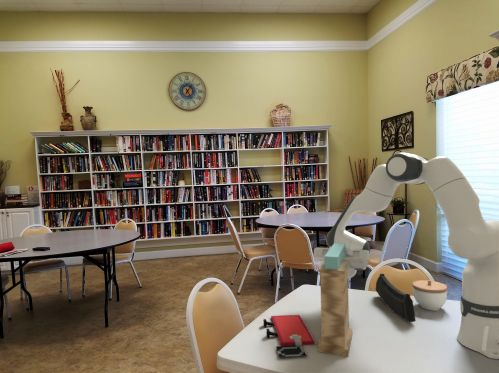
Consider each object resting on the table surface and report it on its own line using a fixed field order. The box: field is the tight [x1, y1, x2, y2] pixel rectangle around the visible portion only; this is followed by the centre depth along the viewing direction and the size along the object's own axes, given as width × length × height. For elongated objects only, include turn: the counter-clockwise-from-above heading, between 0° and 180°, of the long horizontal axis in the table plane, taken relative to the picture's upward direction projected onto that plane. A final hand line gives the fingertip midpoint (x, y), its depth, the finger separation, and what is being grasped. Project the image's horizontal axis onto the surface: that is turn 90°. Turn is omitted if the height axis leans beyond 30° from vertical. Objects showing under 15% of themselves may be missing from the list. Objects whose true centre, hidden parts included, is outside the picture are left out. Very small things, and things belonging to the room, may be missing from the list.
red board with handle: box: [263, 314, 316, 358], centre depth 116 cm, size 30×3×15 cm
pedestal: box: [317, 260, 353, 357], centre depth 109 cm, size 9×15×26 cm, turn 158°
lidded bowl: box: [411, 279, 448, 311], centre depth 136 cm, size 13×13×11 cm
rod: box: [325, 243, 346, 270], centre depth 113 cm, size 4×22×4 cm, turn 158°
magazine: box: [375, 273, 417, 323], centre depth 135 cm, size 17×3×30 cm
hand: (338, 249), depth 120 cm, fingers closed on rod, 4 cm apart
